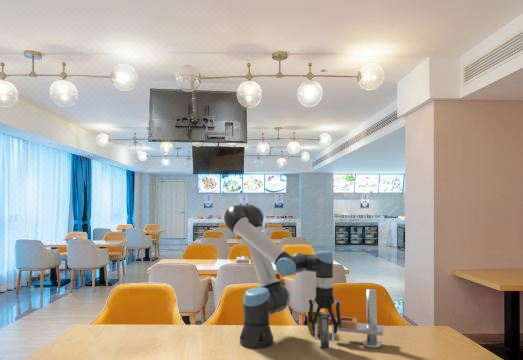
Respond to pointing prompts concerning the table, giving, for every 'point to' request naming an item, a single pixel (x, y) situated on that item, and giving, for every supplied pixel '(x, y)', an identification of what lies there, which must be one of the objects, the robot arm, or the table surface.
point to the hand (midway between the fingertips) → (324, 339)
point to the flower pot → (316, 322)
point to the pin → (324, 329)
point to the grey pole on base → (370, 328)
